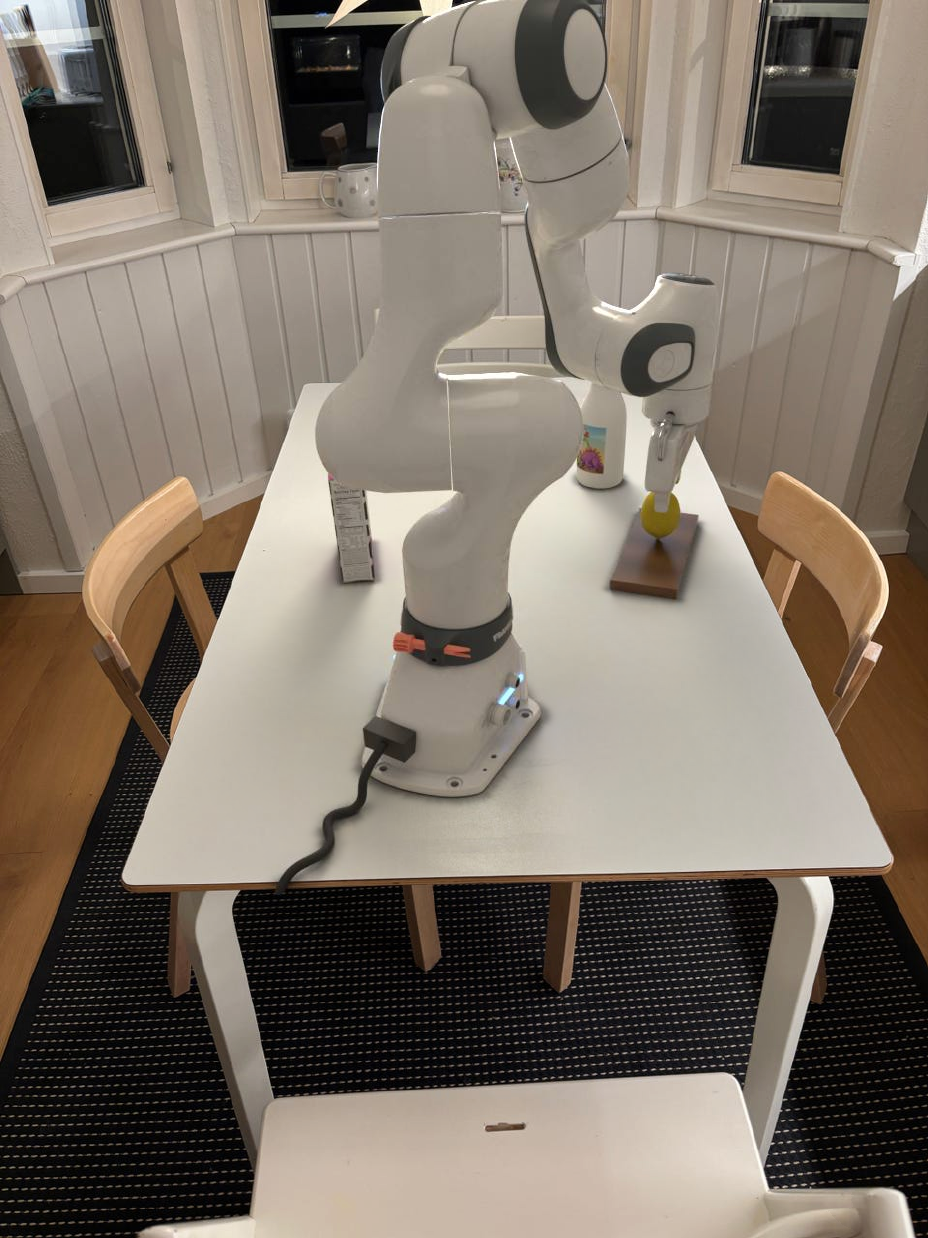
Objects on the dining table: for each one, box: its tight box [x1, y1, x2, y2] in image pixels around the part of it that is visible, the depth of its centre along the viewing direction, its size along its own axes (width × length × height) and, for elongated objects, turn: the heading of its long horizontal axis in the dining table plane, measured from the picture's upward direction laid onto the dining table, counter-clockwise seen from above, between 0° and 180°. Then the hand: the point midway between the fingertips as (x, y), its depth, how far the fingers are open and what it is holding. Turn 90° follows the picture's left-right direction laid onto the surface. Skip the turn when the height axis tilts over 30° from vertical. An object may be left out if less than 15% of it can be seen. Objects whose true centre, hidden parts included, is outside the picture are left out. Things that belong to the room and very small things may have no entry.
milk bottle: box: [575, 382, 628, 489], centre depth 153 cm, size 8×8×20 cm
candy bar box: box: [327, 473, 376, 584], centre depth 134 cm, size 11×5×16 cm, turn 7°
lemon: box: [640, 492, 681, 539], centre depth 136 cm, size 6×6×8 cm
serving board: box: [609, 507, 699, 600], centre depth 137 cm, size 22×9×2 cm, turn 161°
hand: (667, 495), depth 133 cm, fingers open, 8 cm apart
